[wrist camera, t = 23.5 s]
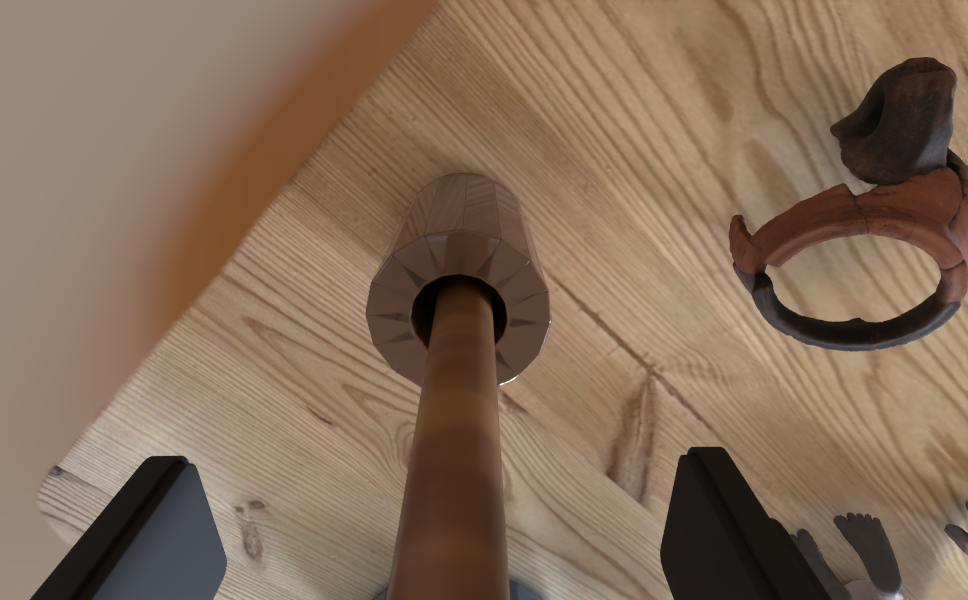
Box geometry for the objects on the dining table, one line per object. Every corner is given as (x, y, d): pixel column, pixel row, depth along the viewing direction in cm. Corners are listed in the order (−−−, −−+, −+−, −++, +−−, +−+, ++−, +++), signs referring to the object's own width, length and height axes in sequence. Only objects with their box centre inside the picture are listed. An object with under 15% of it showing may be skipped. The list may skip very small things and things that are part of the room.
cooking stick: (439, 231, 25) (335, 709, 7) (474, 211, 24) (467, 661, 6) (461, 265, 25) (420, 775, 7) (495, 245, 25) (543, 735, 7)
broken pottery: (929, 255, 26) (967, 378, 21) (729, 251, 31) (720, 353, 25) (1026, 2, 19) (1123, 97, 14) (742, 43, 23) (732, 127, 18)
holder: (377, 213, 25) (328, 290, 17) (487, 147, 23) (492, 194, 15) (445, 311, 27) (432, 420, 19) (548, 255, 26) (581, 346, 18)
